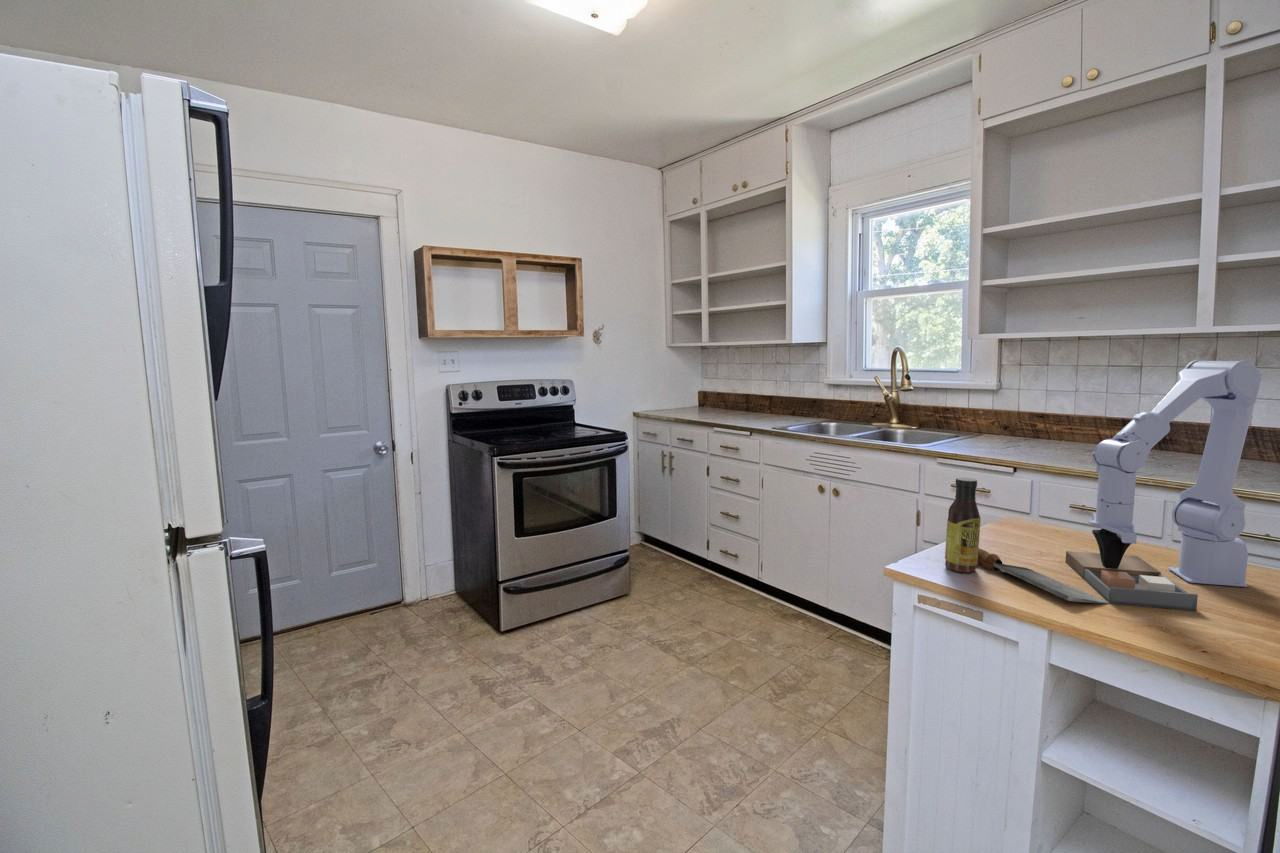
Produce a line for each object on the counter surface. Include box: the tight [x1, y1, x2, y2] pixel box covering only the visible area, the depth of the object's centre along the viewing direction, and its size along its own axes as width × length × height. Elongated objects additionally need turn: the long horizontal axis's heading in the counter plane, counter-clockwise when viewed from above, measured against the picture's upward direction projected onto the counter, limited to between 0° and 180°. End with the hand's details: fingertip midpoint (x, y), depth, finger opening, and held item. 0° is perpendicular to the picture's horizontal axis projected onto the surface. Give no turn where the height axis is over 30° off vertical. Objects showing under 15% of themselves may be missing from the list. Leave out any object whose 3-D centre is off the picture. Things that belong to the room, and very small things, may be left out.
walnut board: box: [1064, 550, 1162, 580], centre depth 126 cm, size 13×10×2 cm
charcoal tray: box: [1083, 569, 1199, 612], centre depth 115 cm, size 13×12×3 cm
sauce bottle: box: [944, 477, 982, 574], centre depth 129 cm, size 7×6×20 cm
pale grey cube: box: [1138, 575, 1176, 592], centre depth 113 cm, size 4×4×3 cm
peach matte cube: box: [1101, 570, 1135, 589], centre depth 116 cm, size 4×4×3 cm
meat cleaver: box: [977, 547, 1111, 605], centre depth 127 cm, size 34×11×4 cm, turn 11°
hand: (1110, 567), depth 119 cm, fingers closed
